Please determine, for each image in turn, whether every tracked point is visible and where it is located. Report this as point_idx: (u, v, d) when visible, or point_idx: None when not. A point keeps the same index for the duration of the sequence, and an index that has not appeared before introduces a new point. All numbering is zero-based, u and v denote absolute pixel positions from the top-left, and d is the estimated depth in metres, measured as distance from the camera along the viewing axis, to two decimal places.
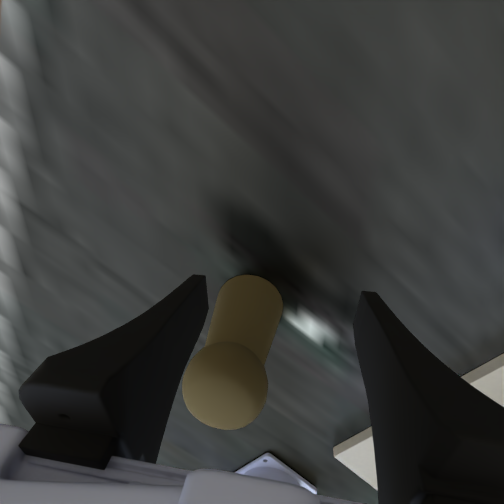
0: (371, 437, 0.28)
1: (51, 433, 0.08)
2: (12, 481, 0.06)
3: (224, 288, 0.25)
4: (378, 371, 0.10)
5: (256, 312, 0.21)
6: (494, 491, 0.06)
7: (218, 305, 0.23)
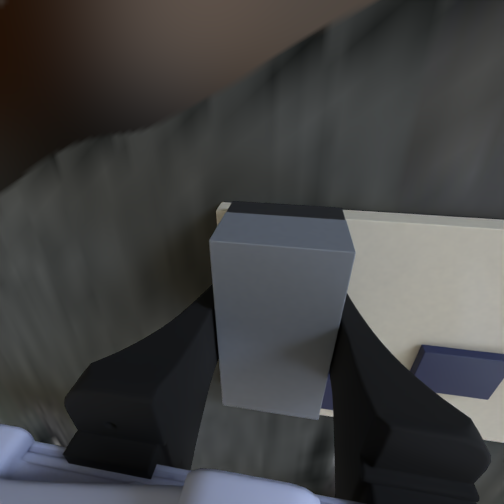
0: None
1: (94, 441, 0.07)
2: (12, 481, 0.06)
3: None
4: (339, 366, 0.10)
5: None
6: (430, 480, 0.07)
7: None
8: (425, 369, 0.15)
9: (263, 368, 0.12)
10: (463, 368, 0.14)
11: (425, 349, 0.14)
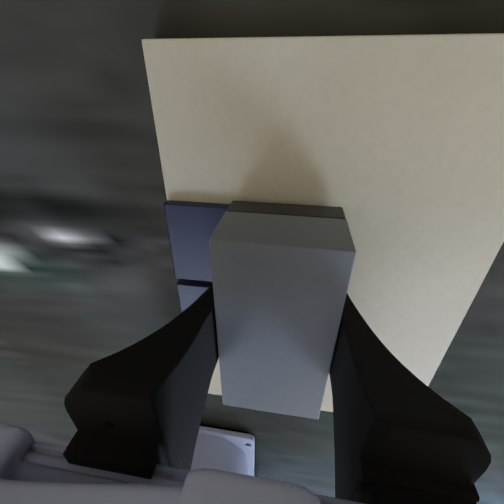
0: None
1: (94, 441, 0.07)
2: (12, 481, 0.06)
3: None
4: (339, 366, 0.10)
5: None
6: (430, 480, 0.07)
7: None
8: None
9: (264, 367, 0.12)
10: None
11: None
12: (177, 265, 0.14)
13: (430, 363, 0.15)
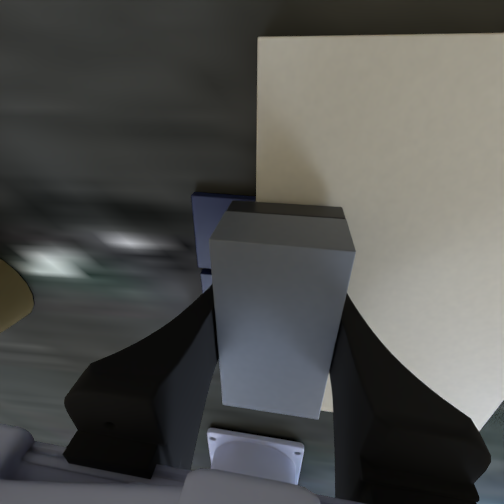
0: None
1: (95, 441, 0.07)
2: (12, 481, 0.06)
3: None
4: (339, 366, 0.10)
5: None
6: (430, 480, 0.07)
7: None
8: None
9: (263, 367, 0.12)
10: None
11: None
12: (200, 254, 0.15)
13: None
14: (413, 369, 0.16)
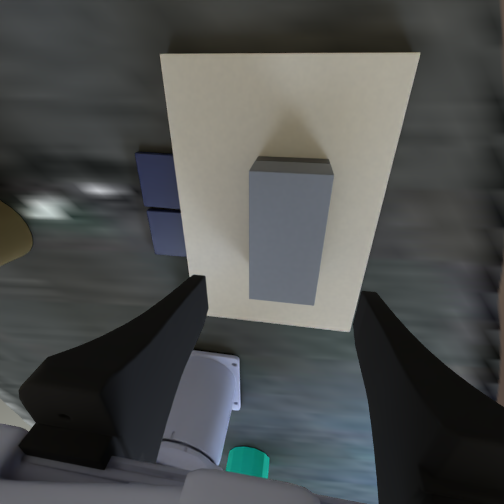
0: (189, 271, 0.24)
1: (51, 433, 0.08)
2: (12, 481, 0.06)
3: None
4: (378, 371, 0.10)
5: None
6: (494, 491, 0.06)
7: None
8: (168, 217, 0.22)
9: (278, 264, 0.18)
10: (176, 235, 0.23)
11: None
12: (144, 196, 0.22)
13: (357, 277, 0.22)
14: None
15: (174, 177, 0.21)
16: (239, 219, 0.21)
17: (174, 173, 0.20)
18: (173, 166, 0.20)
